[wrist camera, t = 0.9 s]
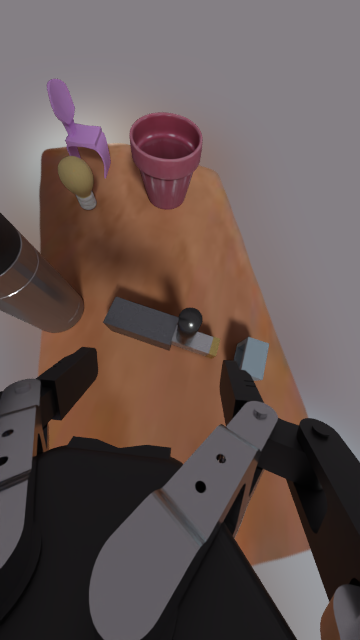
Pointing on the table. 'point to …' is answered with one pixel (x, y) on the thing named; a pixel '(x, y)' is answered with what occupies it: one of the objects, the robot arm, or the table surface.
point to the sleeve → (141, 323)
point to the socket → (252, 357)
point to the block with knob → (194, 334)
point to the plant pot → (166, 156)
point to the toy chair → (76, 132)
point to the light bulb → (78, 180)
